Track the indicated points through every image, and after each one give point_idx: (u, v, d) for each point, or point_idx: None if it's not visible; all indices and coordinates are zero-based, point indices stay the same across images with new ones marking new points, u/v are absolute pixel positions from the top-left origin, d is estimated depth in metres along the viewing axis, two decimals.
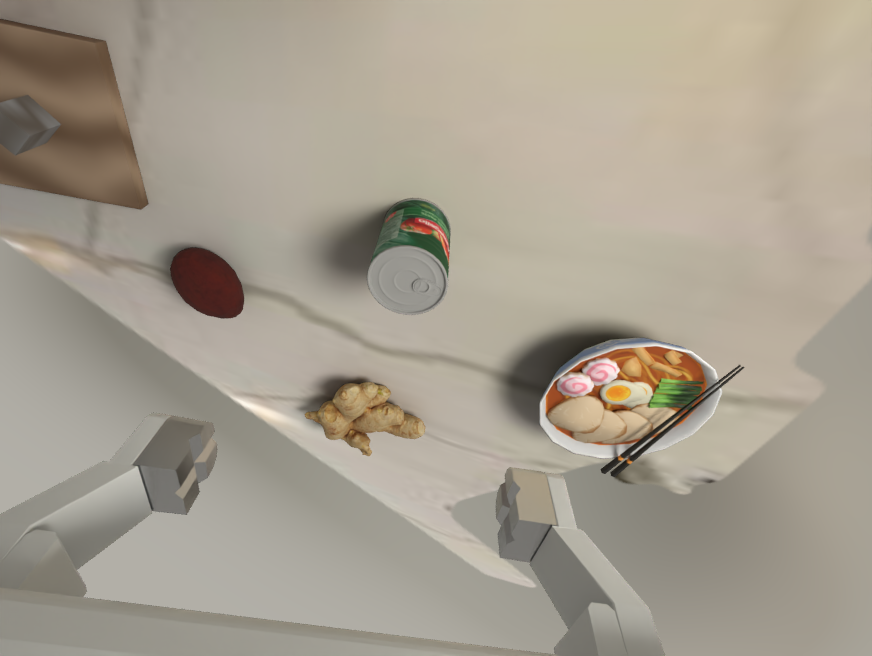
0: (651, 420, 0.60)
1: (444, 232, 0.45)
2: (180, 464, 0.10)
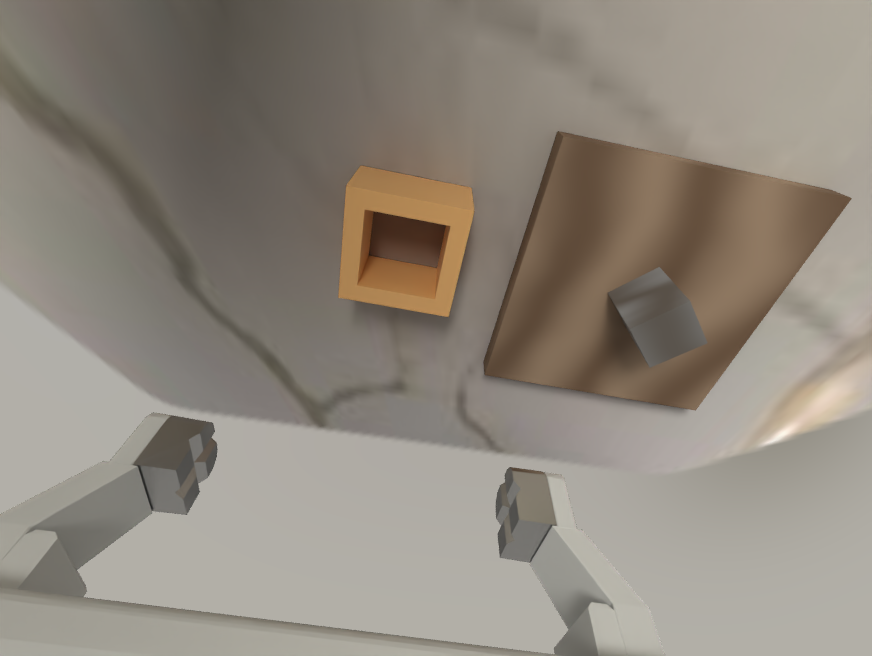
0: None
1: None
2: (180, 464, 0.10)
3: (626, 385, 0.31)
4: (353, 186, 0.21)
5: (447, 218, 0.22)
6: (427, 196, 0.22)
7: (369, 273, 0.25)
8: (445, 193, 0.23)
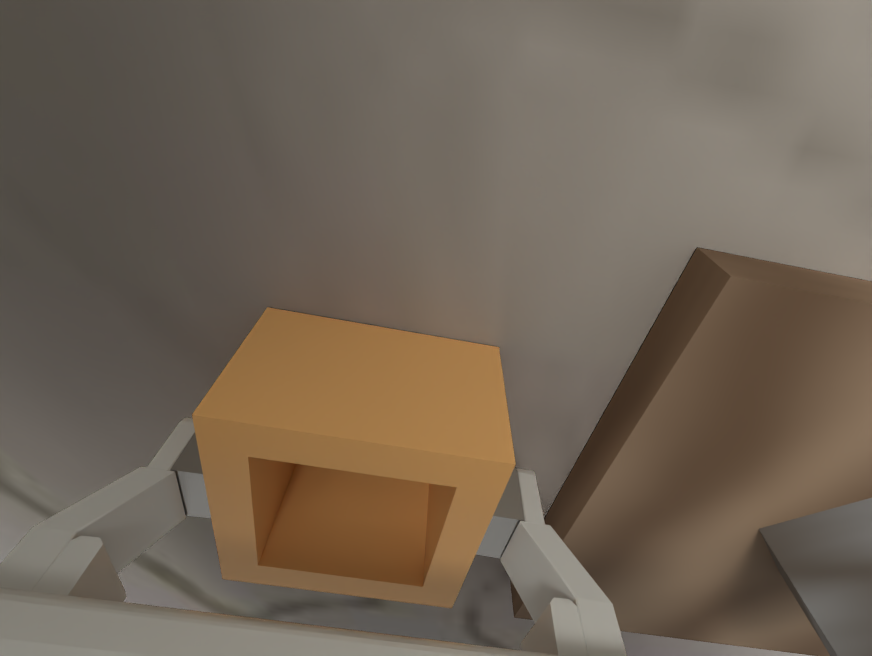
0: None
1: None
2: None
3: (758, 634, 0.18)
4: (212, 413, 0.08)
5: (449, 475, 0.09)
6: (400, 416, 0.09)
7: (292, 513, 0.13)
8: (444, 388, 0.10)
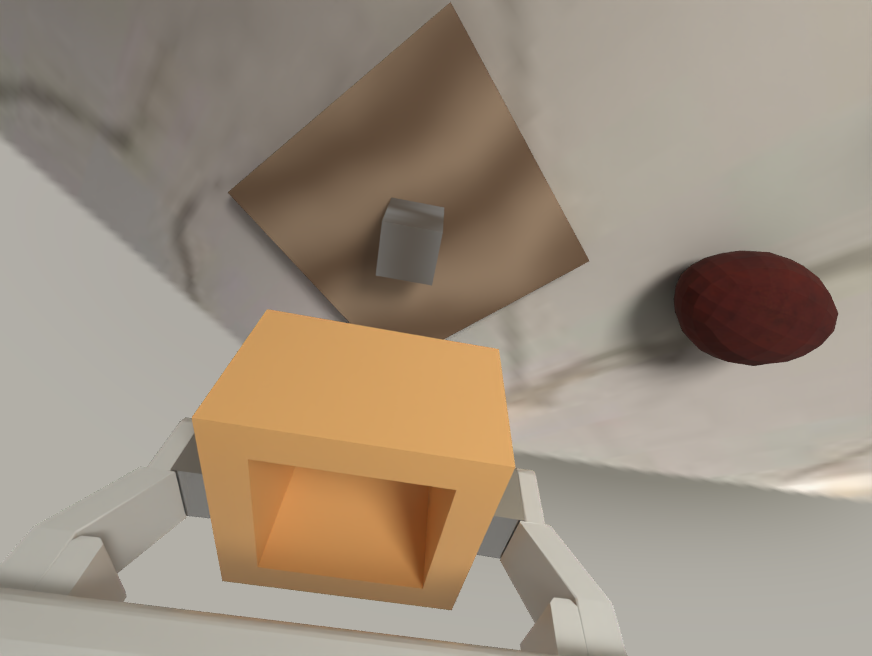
0: None
1: None
2: None
3: (352, 304, 0.30)
4: (212, 416, 0.08)
5: (448, 478, 0.09)
6: (400, 419, 0.09)
7: (292, 514, 0.13)
8: (444, 390, 0.10)
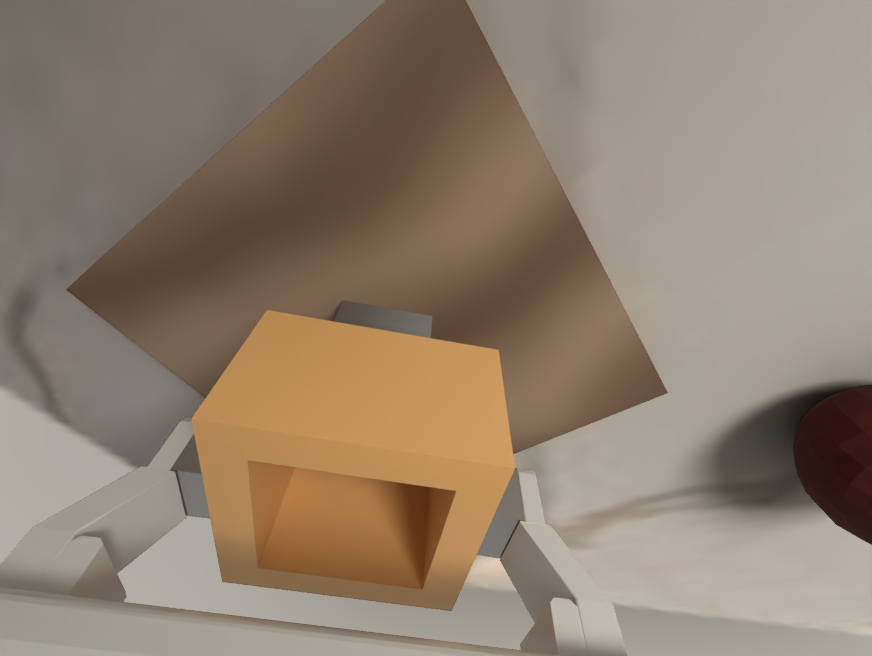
0: None
1: None
2: None
3: None
4: (212, 417, 0.08)
5: (448, 479, 0.09)
6: (400, 420, 0.09)
7: (292, 515, 0.13)
8: (444, 391, 0.10)
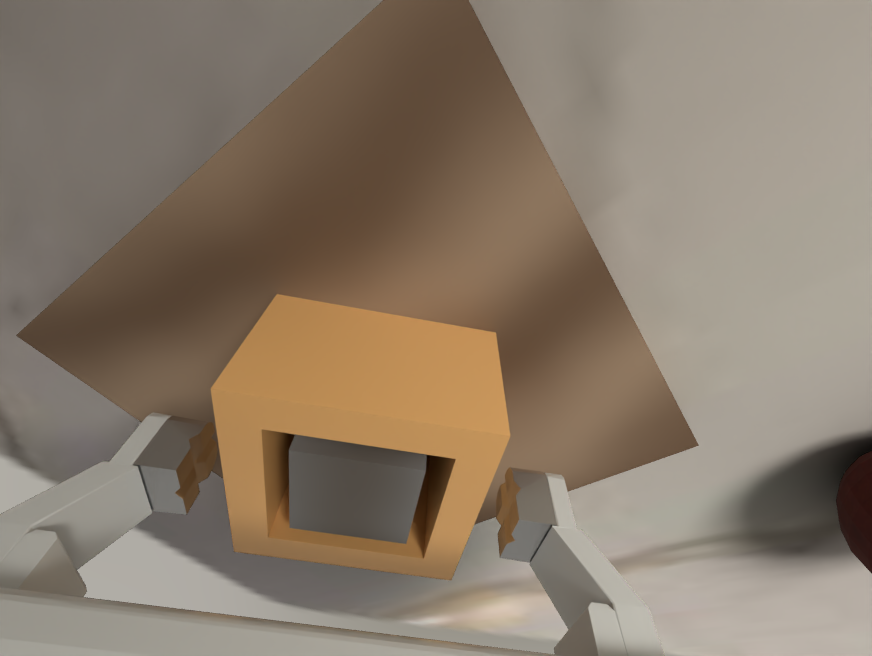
0: None
1: None
2: (180, 464, 0.10)
3: None
4: (229, 387, 0.09)
5: (448, 447, 0.10)
6: (404, 392, 0.10)
7: None
8: (444, 368, 0.11)
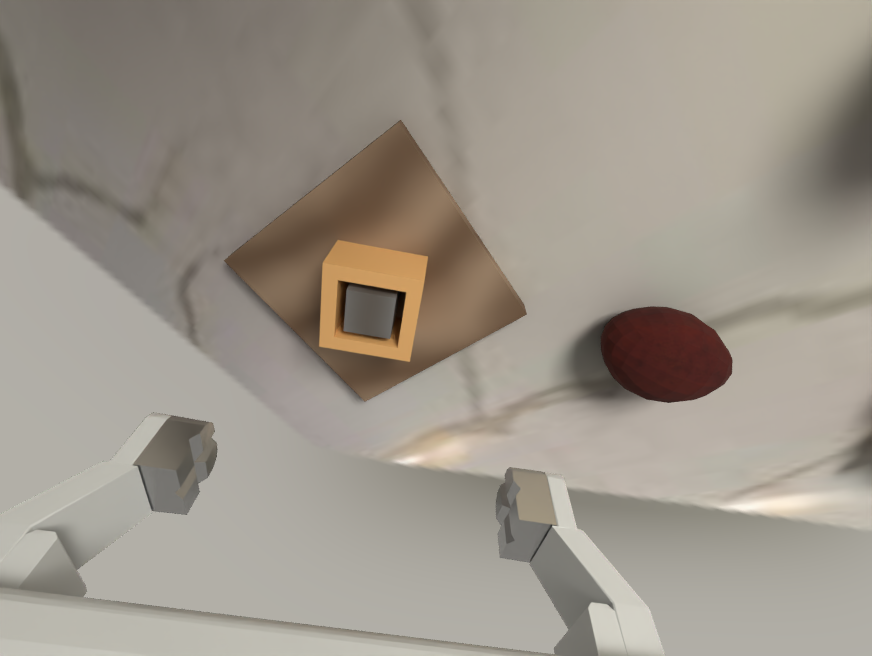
0: None
1: None
2: (180, 464, 0.10)
3: (329, 349, 0.35)
4: (328, 263, 0.27)
5: (403, 286, 0.27)
6: (387, 268, 0.28)
7: None
8: (404, 264, 0.29)
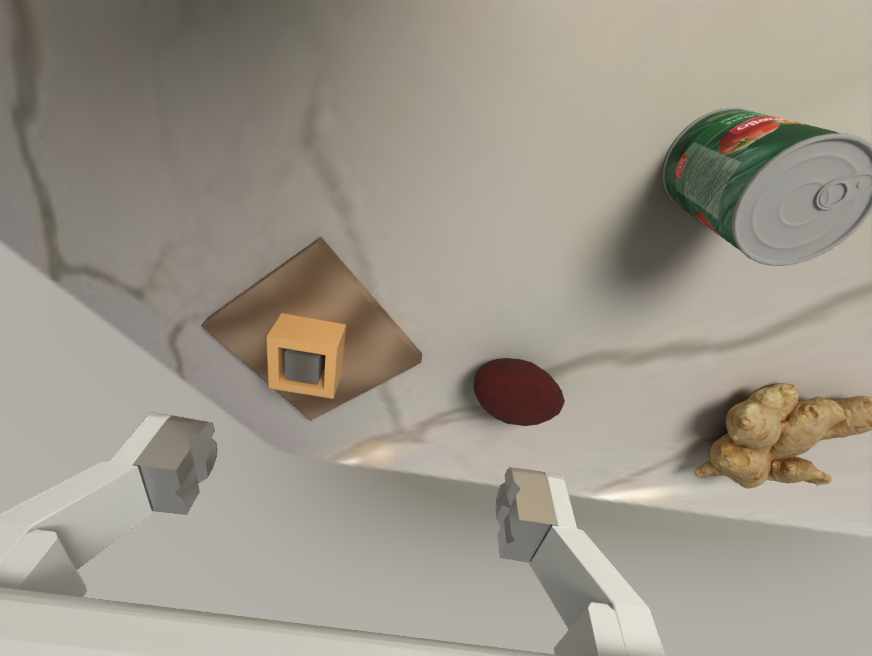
0: None
1: None
2: (180, 464, 0.10)
3: None
4: (270, 336, 0.39)
5: (323, 351, 0.40)
6: (312, 338, 0.40)
7: None
8: (325, 333, 0.41)
